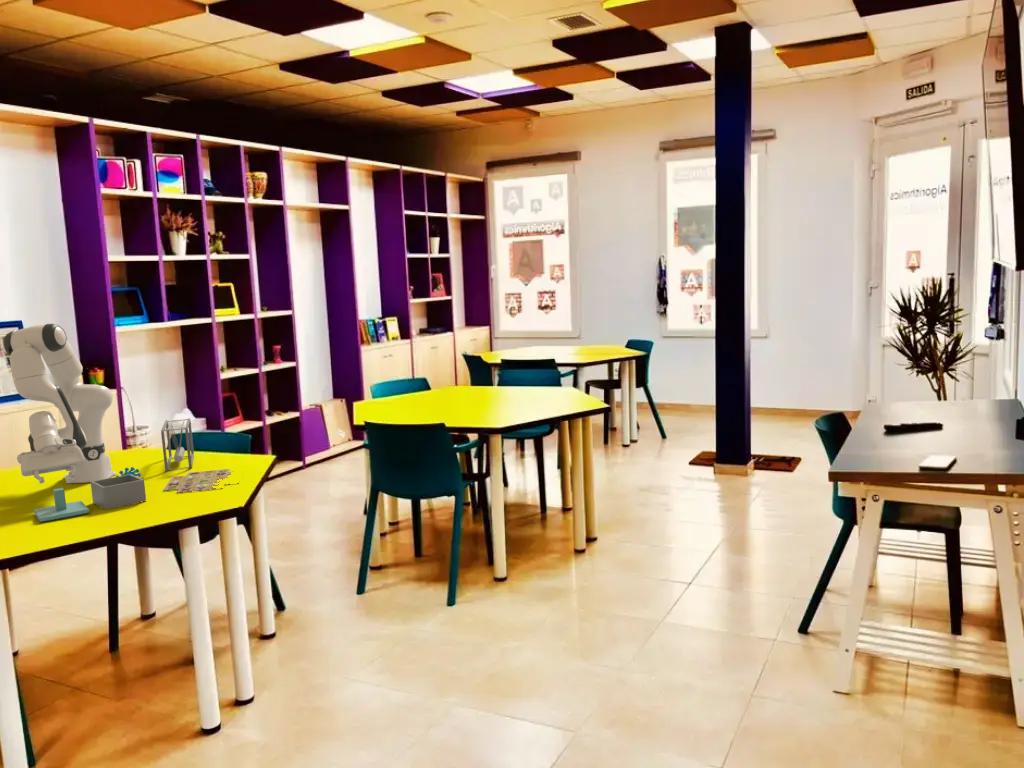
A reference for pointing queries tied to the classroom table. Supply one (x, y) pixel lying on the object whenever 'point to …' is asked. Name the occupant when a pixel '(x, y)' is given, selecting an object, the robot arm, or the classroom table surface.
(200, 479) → the alphabet tiles
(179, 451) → the newton's cradle
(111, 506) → the grey open box
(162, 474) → the classroom table surface
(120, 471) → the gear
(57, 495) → the lid
